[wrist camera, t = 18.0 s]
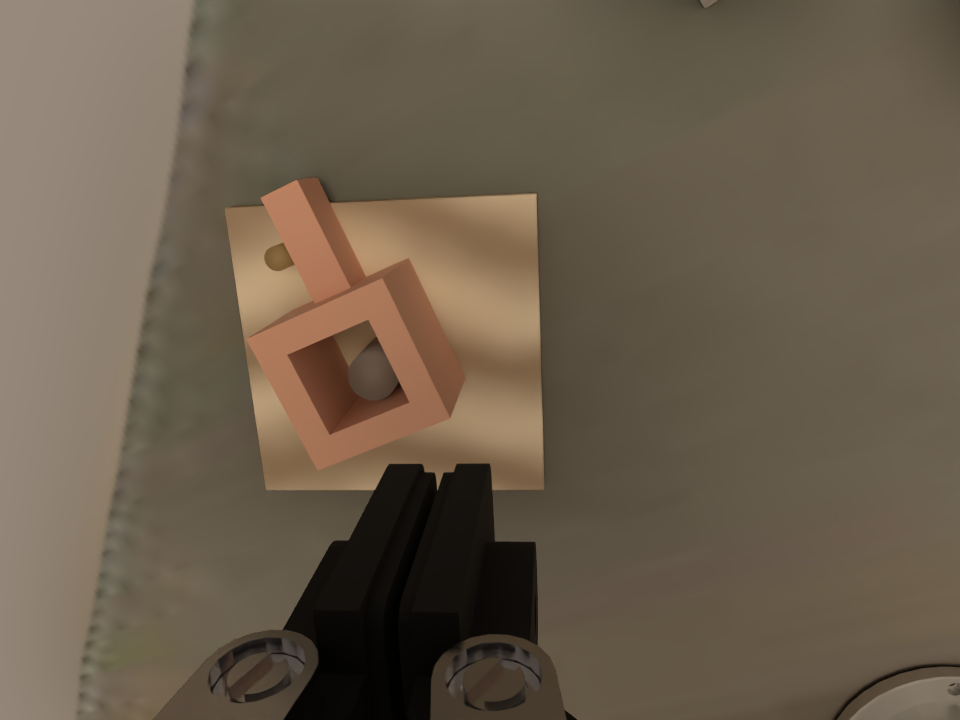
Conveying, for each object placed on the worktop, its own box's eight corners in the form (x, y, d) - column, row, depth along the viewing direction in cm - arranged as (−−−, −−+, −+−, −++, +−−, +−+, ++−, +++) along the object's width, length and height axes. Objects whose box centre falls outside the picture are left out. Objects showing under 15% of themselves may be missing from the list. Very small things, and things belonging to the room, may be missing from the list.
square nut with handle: (465, 377, 38) (450, 418, 33) (351, 424, 40) (317, 470, 34) (360, 155, 36) (324, 157, 30) (242, 214, 37) (185, 226, 31)
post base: (544, 480, 41) (543, 526, 36) (273, 480, 43) (236, 525, 38) (536, 192, 36) (534, 199, 31) (234, 206, 38) (186, 215, 33)
